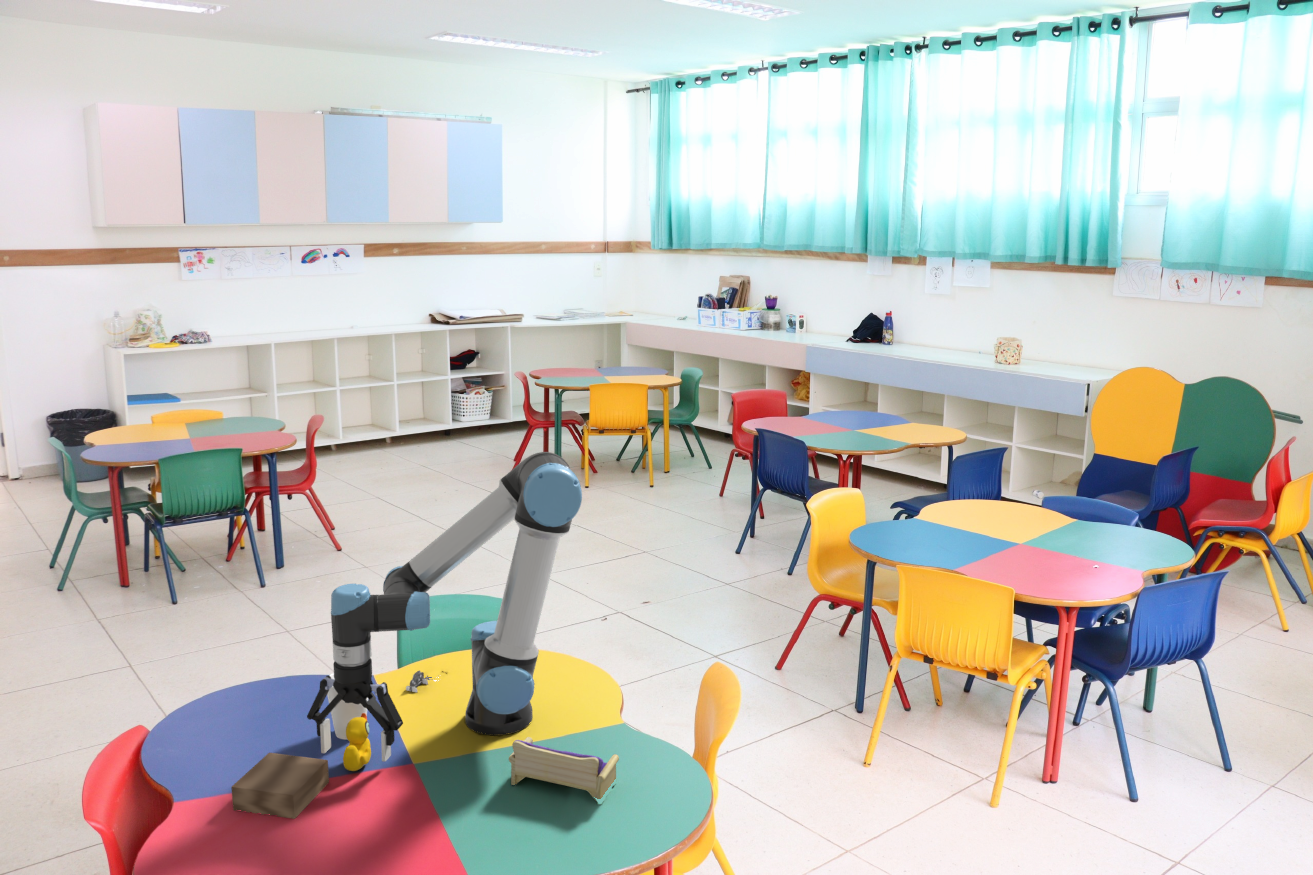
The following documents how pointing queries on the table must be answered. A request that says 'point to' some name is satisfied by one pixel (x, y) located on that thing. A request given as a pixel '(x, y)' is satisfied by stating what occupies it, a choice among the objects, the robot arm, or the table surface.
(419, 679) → the grey toy animal
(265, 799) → the walnut base
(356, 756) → the duckling
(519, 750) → the toy sofa
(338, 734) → the foam cup
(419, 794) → the table surface
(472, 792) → the table surface
